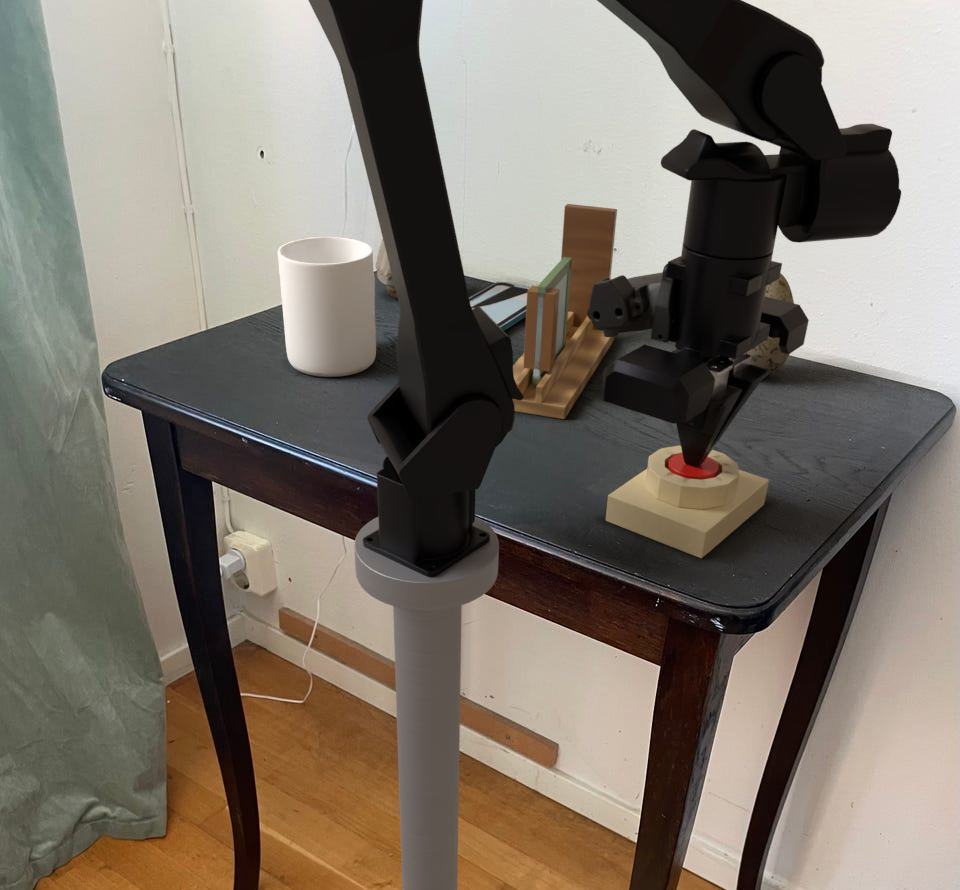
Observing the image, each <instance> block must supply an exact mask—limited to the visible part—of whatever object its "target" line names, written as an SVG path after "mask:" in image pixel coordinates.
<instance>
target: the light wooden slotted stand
mask: <svg viewBox="0 0 960 890" xmlns="http://www.w3.org/2000/svg"><path fill="white" fill-rule="evenodd" d="M563 212H564V213H563V227H562V242H561V258H560V261H561V260H562V258H563V257H569V258H572V264H571V277H570V290H569V304H568V318H567V331H566V345H565V348H564V349H563V350H562V352H561V353H560V355H559V356H558V357H557V359H556V360H555V366H554V367H553V369H552V370H551V371H550V372H546V374H545V375H544V377H543V378H542V379H541V381H540V382H539V384H538V385H537V386H535V385H532V375H533V374H534V369H527V368H524V352H523V353H522V354H521V356H520V357H519V358H518V359H517V361H515V363H513V375H514V379H515V382H516V385H517V387H518V389H519V390H520V392H521V393H522V395H523V399H522V400H516V399H513V403H514V406H515V413H516V412H517V413H523V414H530V415H536V416H543V417H549V418H553V419H560V420H565V419H566V418H567V416H568V415H569V413H570V411H571V410H572V408H573V406H574V405H575V403H576V402H577V400H578V399H579V397H580V395H581V394H582V392H583V390H584V389H585V387H586V386H587V384H588V382H589V381H590V379H591V378H592V376H593V375H594V373H595V371H596V370H597V368H598V366H599V365H600V363H601V362H602V360H603V359H604V357H605V355H606V354H607V352H608V350H609V349H610V348H611V346H612V344H613V342H614V341H615V337H616V336H615V337H605V336H604V332H603V330H598V329H597V328H596V327H595V326H594V325H593V324H592V320H590V319H589V318H588V315H587V311H588V309H589V303H590V296H591V293H592V288H593V283H596V282H598V281H600V280H603V279H605V278H610V279H612V268H613V257H614V246H615V236H616V226H617V216H618V209H617V208H610V207H603V206H602V207H601V206H591V205H583V204H574V203H573V204H572V203H567V204H565V205H564V211H563Z"/></svg>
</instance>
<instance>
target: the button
mask: <svg viewBox="0 0 960 890" xmlns="http://www.w3.org/2000/svg"><path fill="white" fill-rule="evenodd" d="M718 469H719V467H718V464H717V463H716V462H715V461H714V460H713V459H711V458H709V457H707V458H706V459H705V461H704V462H703V463H702V464H701V465H700V466H698V467H692V466H690V465H687V464H685V462H684V459H683V454H678V455H675V456H673V457H672V458H671V459H670V460H669V464H668V470H669V471H670V472H672V473H673V474H676V475H678V476H681V477H684V478H687V479H699V480H704V479H709V478H715V477H716V476H717V475H718Z"/></svg>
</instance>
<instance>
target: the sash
mask: <svg viewBox="0 0 960 890" xmlns="http://www.w3.org/2000/svg"><path fill="white" fill-rule="evenodd" d="M571 264H572V258H569V257H563V258H562V260H561V259H560V261H558V263H556V265H555V266H554V267H553V268H552V269H551V271H549V273H548V274H547V275H546V276H545V277H543V279H542V280H541V281H540V283H539V284H538V285H531V286H529V287H530V289H529V290H528V291H527V307H526V317H525V328H524V329H525V330H524V350H523V353H524V368H527V369H534V374H533V375H532V385H535V386H537V385H538V384H539V382H540V381H541V379H542V378H543V377H544V375H545V374H546V372H550V371H551V370H552V369H553V367H554V366H555V360H556V359H557V357H558V356H559V355H560V353H561V352H562V350H563V349H564V348H565V345H566V331H567V318H568V304H569V290H570V277H571Z"/></svg>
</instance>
